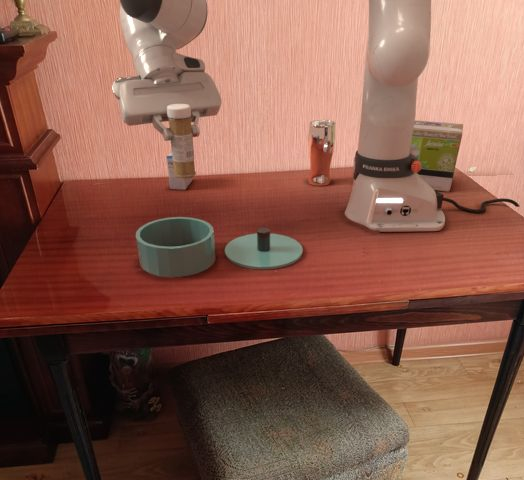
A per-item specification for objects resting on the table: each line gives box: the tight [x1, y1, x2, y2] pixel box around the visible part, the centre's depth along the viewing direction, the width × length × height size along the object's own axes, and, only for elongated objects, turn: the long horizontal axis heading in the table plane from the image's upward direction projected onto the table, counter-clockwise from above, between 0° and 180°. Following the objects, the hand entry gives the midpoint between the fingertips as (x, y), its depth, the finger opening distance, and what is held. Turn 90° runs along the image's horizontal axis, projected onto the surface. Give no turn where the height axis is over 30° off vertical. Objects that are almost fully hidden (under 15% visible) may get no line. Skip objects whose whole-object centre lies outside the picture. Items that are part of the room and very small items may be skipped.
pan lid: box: [224, 227, 304, 271], centre depth 104 cm, size 16×16×5 cm
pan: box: [135, 216, 217, 278], centre depth 101 cm, size 15×15×6 cm
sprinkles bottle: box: [167, 104, 197, 178], centre depth 104 cm, size 5×5×13 cm
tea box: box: [410, 119, 464, 193], centre depth 135 cm, size 15×10×15 cm
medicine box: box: [166, 150, 194, 191], centre depth 137 cm, size 8×4×9 cm, turn 172°
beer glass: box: [307, 119, 337, 187], centre depth 136 cm, size 7×7×15 cm
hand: (182, 137), depth 103 cm, fingers closed on sprinkles bottle, 4 cm apart
